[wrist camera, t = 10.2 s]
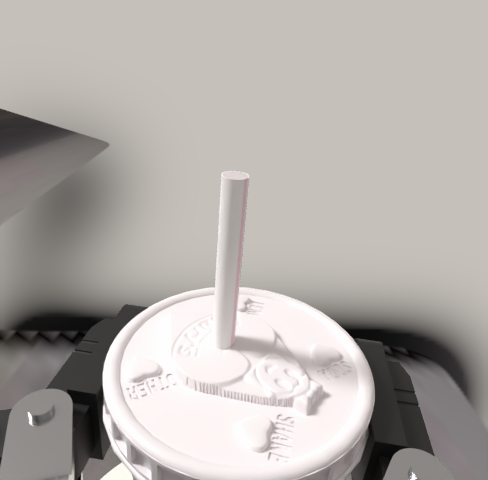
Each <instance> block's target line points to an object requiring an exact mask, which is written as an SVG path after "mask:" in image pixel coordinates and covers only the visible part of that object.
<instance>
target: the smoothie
mask: <svg viewBox="0 0 488 480" xmlns="http://www.w3.org/2000/svg"><path fill="white" fill-rule="evenodd" d="M248 183H249V175H248V174H246V173H243V172H238V171H226V172H223V173H222V176H221V193H220V210H219V228H218V244H217V262H216V279H215V288H205V289H199V290H194V291H188V292H185V293H182V294H179V295H175V296H172V297H169V298H167V299H165V300H163V301H160V302H158V303H156V304H154V305H152V306H150V307H149V308H147V309H146V310H144V311H142V312H141V313H140V314H138V315H137V316H135V317H134V318H133V319H132V320H131V321H130V322H129V323H128V324H127V325H126V326H125V327H124V328H123V329H122V330H121V331H120V333H119V334H118V335H117V337H116V338H115V339H114V341H113V343H112V345H111V346H110V349H109V351H108V353H107V356H106V359H105V363H104V368H103V392H104V393H103V422H104V425H105V428H106V431H107V434H108V437H109V440H110V443H111V445H112V448H113V451H114V452H115V454H116V455H117V456H118V457H119V459H120V460H121V461H122V462H123V464H124V465H125V466H126V467H127V469H128V470H129V471H130V472H131V474H132V477H133V480H345V479H346V478H347V476H348V475H349V474H350V473H351V472H352V470H353V469H354V468H355V467H356V465H357V464H358V463H359V462H360V460H361V457H362V454H363V451H364V448H365V445H366V442H367V440H368V437H369V428H368V425H369V422H370V419H371V416H372V412H373V407H374V402H375V388H374V380H373V376H372V372H371V369H370V366H369V364H368V362H367V360H366V358H365V356H364V354H363V352H362V351H361V349H360V348H359V346H358V345H357V343H356V342H355V341H354V340H353V338H352V337H351V336H350V335H349V334H348V333H347V332H346V331H345V330H344V329H343V328H341V326H340V325H339V324H337V323H336V322H335V321H333V320H332V319H331V318H329V317H328V316H326V315H325V314H324V313H322V312H320V311H318V310H317V309H315V308H313V307H311V306H309V305H307V304H305V303H303V302H301V301H298V300H296V299H293V298H290V297H288V296H285V295H281V294H277V293H273V292H270V291H266V290H259V289H253V288H245V287H244V288H243V287H239V286H240V274H241V263H242V252H243V241H244V229H245V218H246V207H247V194H248Z"/></svg>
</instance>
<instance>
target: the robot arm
mask: <svg viewBox="0 0 488 480" xmlns="http://www.w3.org/2000/svg"><path fill="white" fill-rule="evenodd" d="M147 308H148V307H141V306H134V305H127V304H126V305H124V306H123V308H122V309H121V311H120V312H119V313H118V315H117V316H116V318H115V319H108V318H105V319H104V320H102V321H101V322H99V323H98V324H96V325H94V326H93V327H92V328H91V329H90V330H89V331H88V333H87V334H86V335H85V337H84V338H83V339H82V342H80V344H79V345H78V346H77V348H76V349H75V352H73V353H72V354H71V356H70V357H69V358H68V360H67V361H66V362H65V364H64V365H63V366H62V368H61V369H60V371H59V372H58V373H57V375H56V376H55V377H54V379H53V380H52V381H51V383H50V384H49V385H48V387H47V388H46V389H43V390H39V391H36V392H33V393H31V394H29V395H27V396H25V397H24V398H22V399H21V400H20V401H19V402H18V403H17V404H16V405H15V406H14V407H13V408H12V409H8V410H0V480H83V474H82V471H83V469H84V467H85V465H86V463H87V461H88V459H89V458H96V459H101V460H103V459H104V457H105V455H106V452H107V450H108V448H109V446H110V444H111V443H110V440H109V437H108V434H107V431H106V428H105V425H104V422H103V393H104V392H103V368H104V363H105V359H106V356H107V353H108V351H109V349H110V346H111V345H112V343H113V341H114V339H115V338H116V337H117V335H118V334H119V333H120V331H121V330H122V329H123V328H124V327H125V326H126V325H127V324H128V323H129V322H130V321H131V320H132V319H133V318H134V317H135V316H137V315H138V314H140V313H141V312H142V311H144V310H146V309H147ZM354 341H355V342H356V343H357V345H358V346H359V348H360V349H361V351H362V352H363V354H364V356H365V358H366V360H367V362H368V364H369V366H370V369H371V372H372V376H373V380H374V388H375V402H374V407H373V412H372V416H371V419H370V422H369V425H368V428H369V437H368V440H367V442H366V445H365V448H364V451H363V454H362V457H361V460H360V462H359V463H358V464H357V465H356V467H355V468H354V469H353V470H352V472H351V476H352V480H454V478H453V476H452V474H451V472H450V471H449V469H448V468H447V467H446V466H445V465H444V464H443V463H442V462H441V461H440V460H439V459H437V458H436V457H435V455H434V453H433V450H432V446H431V443H430V440H429V436H428V433H427V430H426V427H425V423H424V420H423V417H422V414H421V410H420V407H418V401H417V397H416V395H415V394H414V393H415V391H414V388H413V384H412V381H411V378H410V376H409V375H408V373H407V372H406V371H405V370H404V368H403V367H402V366H401V365H400V363H399V362H392V361H387V360H386V356H385V352H384V348H383V344H382V343H381V342H377V341H370V340H363V339H357V338H356V339H355V340H354Z"/></svg>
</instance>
